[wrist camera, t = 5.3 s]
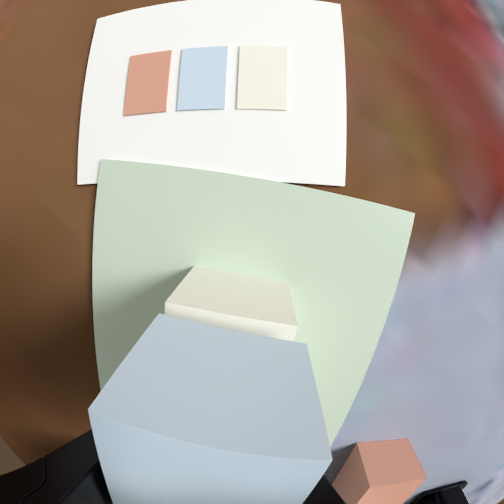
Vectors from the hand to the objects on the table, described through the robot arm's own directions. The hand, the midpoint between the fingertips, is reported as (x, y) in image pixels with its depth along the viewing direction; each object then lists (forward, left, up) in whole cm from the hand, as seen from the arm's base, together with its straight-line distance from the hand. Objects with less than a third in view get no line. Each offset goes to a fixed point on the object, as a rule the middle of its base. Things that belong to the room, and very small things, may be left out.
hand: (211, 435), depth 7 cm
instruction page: (+11, +3, -6) cm, 13 cm away
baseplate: (0, 0, -6) cm, 7 cm away
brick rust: (-10, -11, -7) cm, 16 cm away
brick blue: (0, 0, -1) cm, 1 cm away
